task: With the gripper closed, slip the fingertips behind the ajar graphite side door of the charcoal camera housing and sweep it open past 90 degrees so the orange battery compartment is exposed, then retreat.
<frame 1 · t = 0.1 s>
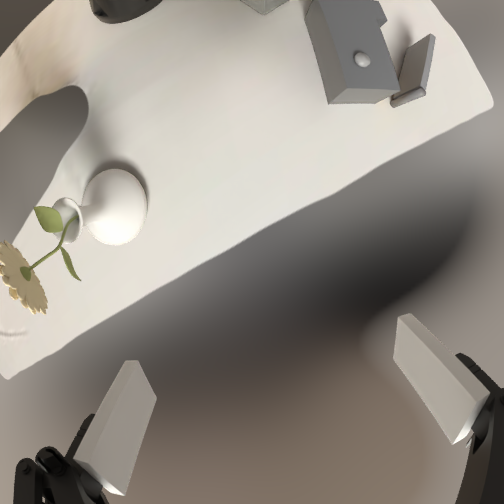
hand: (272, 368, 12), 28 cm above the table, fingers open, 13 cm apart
housing: (346, 58, 32), on the table
flower in vase: (119, 211, 38), on the table
door: (417, 67, 28), point 4 cm above the table, hinge at 32.0°
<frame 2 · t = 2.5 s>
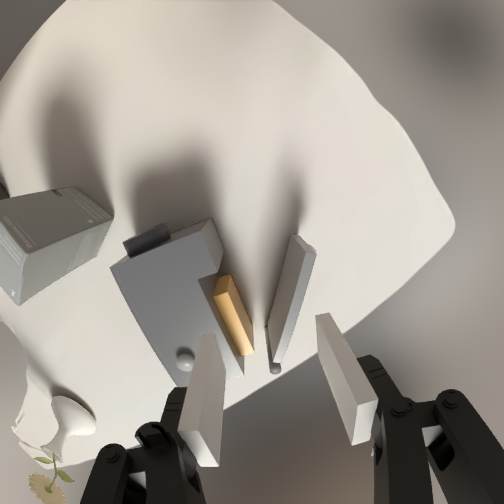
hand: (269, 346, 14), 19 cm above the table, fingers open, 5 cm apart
housing: (198, 292, 33), on the table
flower in vase: (79, 412, 40), on the table
door: (291, 296, 29), point 4 cm above the table, hinge at 32.0°
skincare box: (83, 222, 31), on the table
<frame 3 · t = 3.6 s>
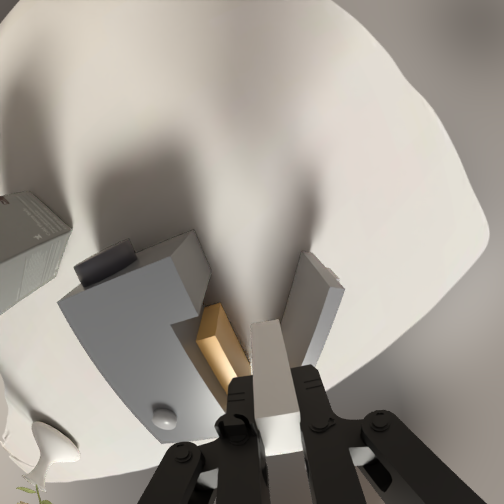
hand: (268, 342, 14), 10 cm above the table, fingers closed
housing: (180, 325, 25), on the table
flower in vase: (61, 438, 32), on the table
door: (302, 337, 21), point 4 cm above the table, hinge at 32.0°
skincare box: (40, 234, 22), on the table
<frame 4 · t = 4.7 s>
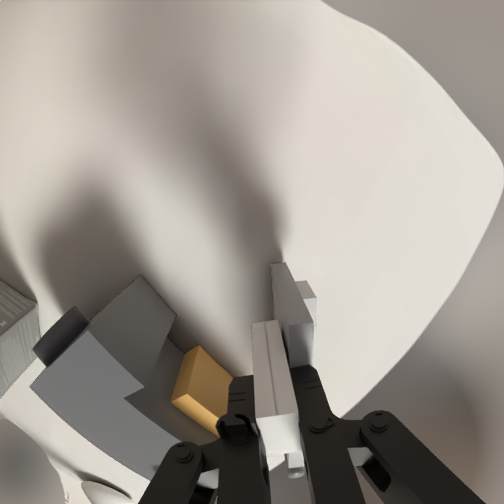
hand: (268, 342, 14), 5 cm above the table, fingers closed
housing: (168, 375, 21), on the table
flower in vase: (113, 491, 30), on the table
door: (295, 371, 16), point 4 cm above the table, hinge at 32.2°, touching gripper
skincare box: (16, 314, 20), on the table
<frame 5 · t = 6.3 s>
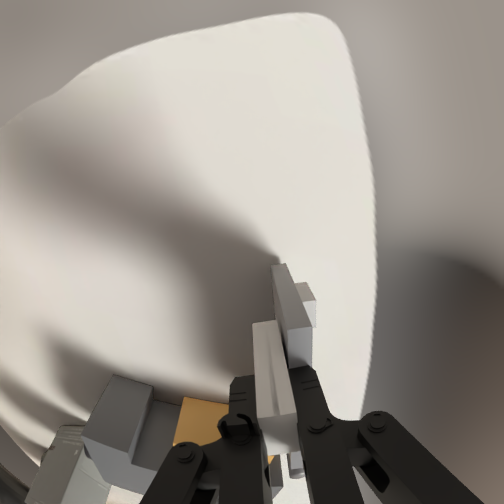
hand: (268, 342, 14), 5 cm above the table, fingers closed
housing: (192, 425, 23), on the table
door: (296, 373, 16), point 4 cm above the table, hinge at 72.8°, touching gripper
skincare box: (91, 439, 25), on the table
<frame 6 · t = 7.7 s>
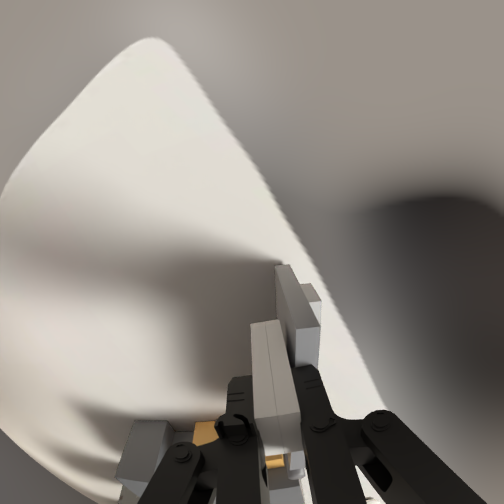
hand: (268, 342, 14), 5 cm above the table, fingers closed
housing: (218, 444, 24), on the table
door: (298, 373, 16), point 4 cm above the table, hinge at 98.3°, touching gripper
skincare box: (153, 480, 27), on the table
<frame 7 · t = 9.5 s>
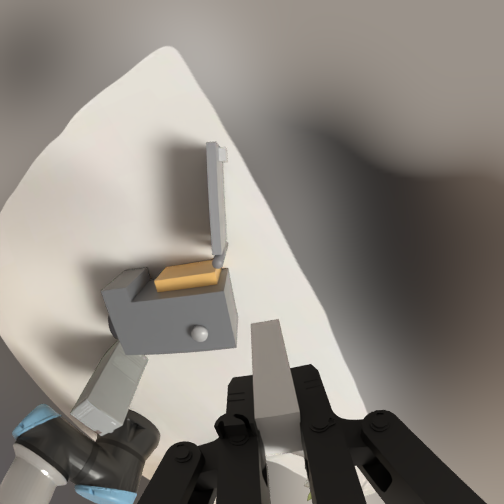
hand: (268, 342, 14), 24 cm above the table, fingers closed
housing: (179, 294, 39), on the table
door: (220, 196, 31), point 4 cm above the table, hinge at 96.6°
skincare box: (126, 358, 43), on the table
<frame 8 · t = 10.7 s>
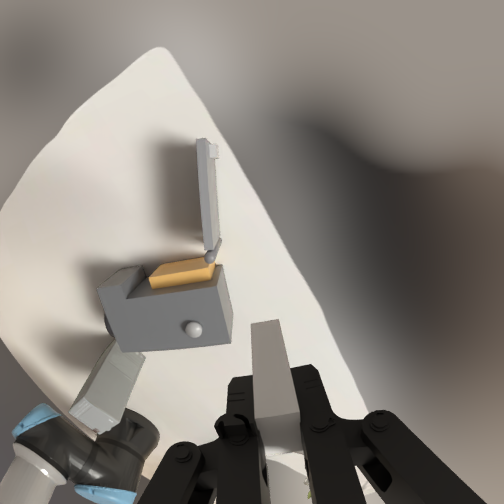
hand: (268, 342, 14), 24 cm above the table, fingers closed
housing: (174, 292, 39), on the table
door: (212, 192, 32), point 4 cm above the table, hinge at 96.6°
skincare box: (124, 357, 43), on the table
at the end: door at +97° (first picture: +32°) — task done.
